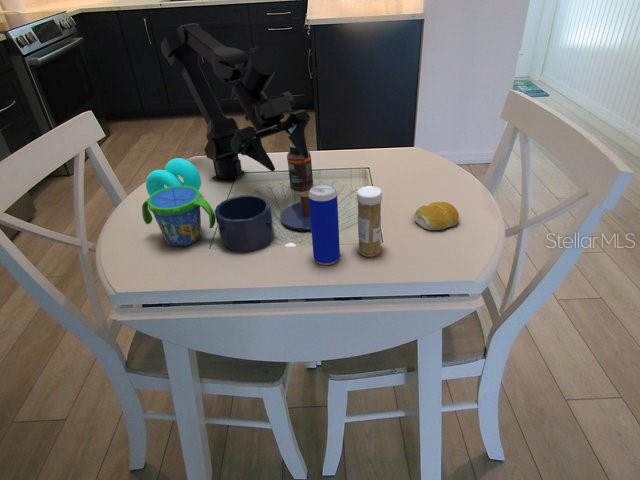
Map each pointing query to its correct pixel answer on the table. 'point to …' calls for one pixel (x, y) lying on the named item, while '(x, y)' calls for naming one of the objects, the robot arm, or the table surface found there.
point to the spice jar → (369, 220)
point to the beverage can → (324, 223)
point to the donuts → (173, 176)
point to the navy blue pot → (245, 223)
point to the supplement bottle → (299, 169)
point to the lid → (298, 214)
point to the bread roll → (437, 216)
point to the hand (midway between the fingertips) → (290, 163)
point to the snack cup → (178, 213)
